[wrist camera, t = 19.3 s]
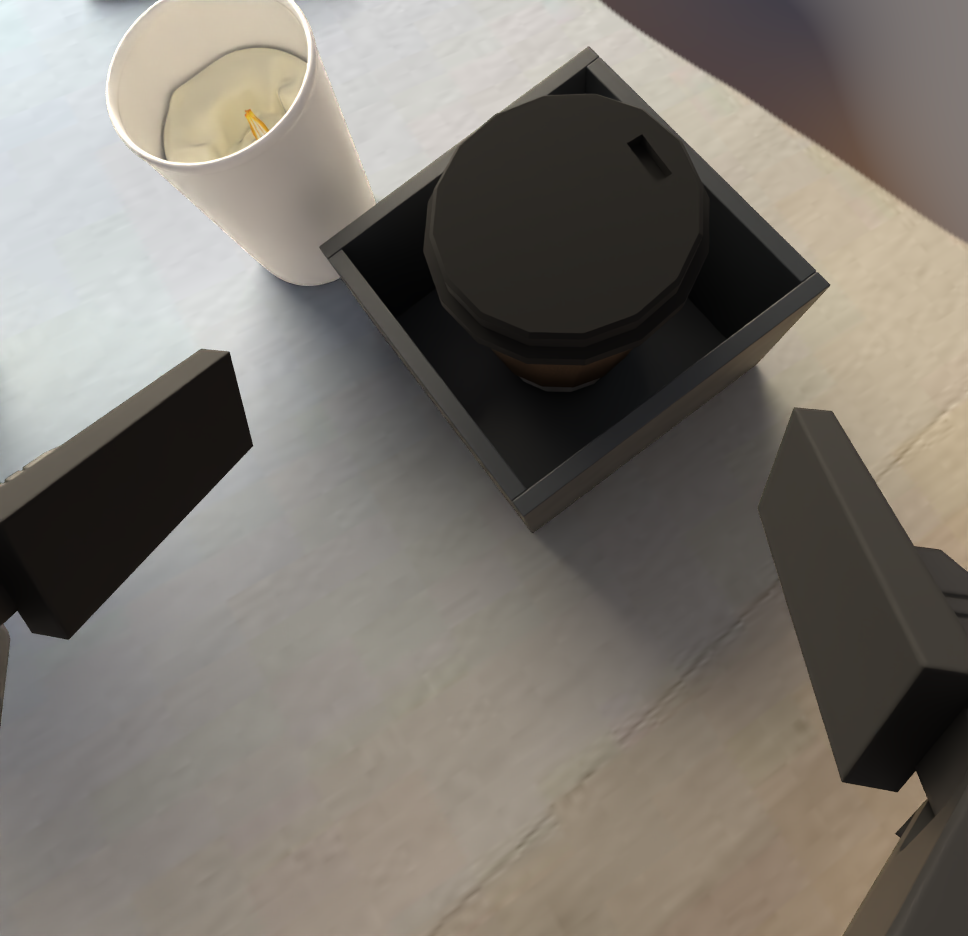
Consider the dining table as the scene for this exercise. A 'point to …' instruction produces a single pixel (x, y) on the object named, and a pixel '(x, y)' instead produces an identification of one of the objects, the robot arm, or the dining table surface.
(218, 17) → the candle holder
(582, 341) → the coffee cup
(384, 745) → the dining table surface
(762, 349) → the open box
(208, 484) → the robot arm
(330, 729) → the dining table surface
